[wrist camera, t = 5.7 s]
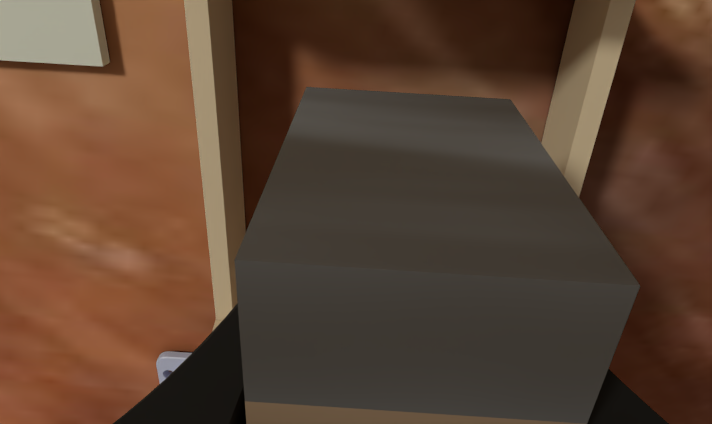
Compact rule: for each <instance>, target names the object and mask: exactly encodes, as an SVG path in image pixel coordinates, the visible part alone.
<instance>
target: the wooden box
mask: <svg viewBox="0 0 712 424" xmlns="http://www.w3.org/2000/svg"><path fill="white" fill-rule="evenodd" d="M635 1H636V0H575V2H574V7H573V11H572V15H571V19H570V24H569V28H568V32H567V36H566V41H565V45H564V49H563V53H562V58H561V62H560V66H559V70H558V75H557V79H556V83H555V87H554V92H553V96H552V100H551V104H550V109H549V113H548V117H547V121H546V126H545V130H544V134H543V138H542V143H541V144H542V145H543V147H544V148H545V150H546V151H547V153H548V154H549V156H550V157H551V158H552V160H553V161H554V163H555V164H556V166H557V167H558V168H559V170H560V171H561V173H562V174H563V176H564V177H565V178H566V180H567V181H568V183H569V184H570V186H571V187H572V189H573V190H574V191H575V193H576V194H577V196H578V197H579V196H580V192H581V189H582V185H583V182H584V178H585V175H586V171H587V168H588V164H589V161H590V157H591V154H592V150H593V147H594V143H595V140H596V136H597V133H598V129H599V126H600V123H601V119H602V116H603V112H604V109H605V105H606V102H607V98H608V95H609V91H610V88H611V84H612V81H613V77H614V74H615V70H616V67H617V63H618V60H619V56H620V53H621V49H622V46H623V42H624V39H625V36H626V32H627V29H628V25H629V22H630V18H631V15H632V11H633V8H634V4H635ZM184 6H185V16H186V26H187V36H188V46H189V55H190V65H191V75H192V85H193V95H194V105H195V115H196V125H197V135H198V145H199V155H200V164H201V174H202V184H203V194H204V204H205V214H206V224H207V234H208V244H209V254H210V264H211V273H212V283H213V293H214V303H215V313H216V321H215V324H214V328H213V331H214V329H215V328H216V327H217V326H218V325H219V324H220V323H221V322H222V321H223V319H224V318H225V317H226V316H227V315H228V314H229V313H230V311H231V310H232V309H233V308H234V307H235V305H236V304H237V303H238V302H237V289H236V275H235V261H234V260H235V257H236V255H237V253H238V250H239V248H240V245H241V243H242V241H243V238H244V236H245V233H246V226H245V209H244V192H243V175H242V159H241V142H240V125H239V108H238V91H237V75H236V58H235V41H234V24H233V7H232V0H184ZM213 331H212V332H213Z"/></svg>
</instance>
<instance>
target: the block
mask: <svg viewBox="0 0 712 424" xmlns="http://www.w3.org/2000/svg"><path fill="white" fill-rule="evenodd" d="M234 261H235V275H236V289H237V302H238V316H239V330H240V343H241V357H242V370H243V384H244V398H245V411H246V424H587V423H588V420H589V418H590V415H591V413H592V410H593V407H594V405H595V402H596V400H597V397H598V394H599V392H600V389H601V387H602V384H603V381H604V379H605V376H606V374H607V371H608V368H609V366H610V363H611V361H612V358H613V355H614V353H615V350H616V348H617V345H618V342H619V340H620V337H621V335H622V332H623V329H624V327H625V324H626V322H627V319H628V316H629V314H630V311H631V309H632V306H633V303H634V301H635V298H636V296H637V293H638V290H639V288H640V285H639V283H638V282H637V280H636V279H635V277H634V276H633V275H632V273H631V272H630V270H629V269H628V267H627V266H626V265H625V263H624V262H623V260H622V259H621V257H620V256H619V254H618V253H617V252H616V250H615V249H614V247H613V246H612V244H611V243H610V242H609V240H608V239H607V237H606V236H605V234H604V233H603V232H602V230H601V229H600V227H599V226H598V224H597V223H596V222H595V220H594V219H593V217H592V216H591V214H590V213H589V211H588V210H587V209H586V207H585V206H584V204H583V203H582V201H581V200H580V199H579V197H578V196H577V194H576V193H575V191H574V190H573V189H572V187H571V186H570V184H569V183H568V181H567V180H566V178H565V177H564V176H563V174H562V173H561V171H560V170H559V168H558V167H557V166H556V164H555V163H554V161H553V160H552V158H551V157H550V156H549V154H548V153H547V151H546V150H545V148H544V147H543V145H542V144H541V143H540V141H539V140H538V138H537V137H536V135H535V134H534V133H533V131H532V130H531V128H530V127H529V125H528V124H527V123H526V121H525V120H524V118H523V117H522V115H521V114H520V113H519V111H518V110H517V108H516V107H515V105H514V104H513V102H512V101H511V100H510V99H495V98H479V97H462V96H446V95H429V94H413V93H396V92H380V91H363V90H347V89H330V88H314V87H306V89H305V92H304V94H303V97H302V99H301V101H300V104H299V106H298V109H297V111H296V113H295V116H294V118H293V121H292V123H291V125H290V128H289V130H288V133H287V135H286V137H285V140H284V142H283V145H282V147H281V149H280V152H279V154H278V157H277V159H276V161H275V164H274V166H273V169H272V171H271V173H270V176H269V178H268V181H267V183H266V185H265V188H264V190H263V193H262V195H261V197H260V200H259V202H258V205H257V207H256V209H255V212H254V214H253V217H252V219H251V221H250V224H249V226H248V229H247V231H246V233H245V236H244V238H243V241H242V243H241V245H240V248H239V250H238V253H237V255H236V257H235V260H234Z"/></svg>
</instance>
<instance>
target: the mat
mask: <svg viewBox="0 0 712 424" xmlns="http://www.w3.org/2000/svg"><path fill="white" fill-rule="evenodd" d="M0 60H3V61H20V62H36V63H53V64H69V65H86V66H102V67H103V66H105V65H107V64H108V63H110V59H109V53H108V48H107V42H106V36H105V30H104V25H103V19H102V13H101V7H100V2H99V0H0Z"/></svg>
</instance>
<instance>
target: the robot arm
mask: <svg viewBox="0 0 712 424" xmlns="http://www.w3.org/2000/svg"><path fill="white" fill-rule="evenodd" d="M156 366H157V371H158V377H159V382H160V384H159V385H158V386H157V387H156V388H155V389H154V390H153V391H152V392H151V393H149V394H148V395H147V396H146V397H145V398H144V399H142V400H141V401H140V402H139V403H138V404H136V405H135V406H134V407H133V408H132V409H130V410H129V411H128V412H127V413H126V414H124V415H123V416H122V417H121V418H119V419H118V420H117V421H116V422H114V423H113V424H246V411H245V398H244V384H243V370H242V357H241V343H240V330H239V316H238V303H237V304H236V305H235V307H234V308H233V309H232V310H231V311H230V313H229V314H228V315H227V316H226V317H225V318H224V319H223V321H222V322H221V323H220V324H219V325H218V326H217V327H216V328H215V329H214V331H213V332H212V333H211V334H210V335H209V336H208V337H207V338H206V339H205V340H204V341H203V343H202V344H201V345H200V346H199V347H198V348H197V349H196V350H195V351H194V352H193V353H187V352H171V351H167V352H163V353H161V354H160V356H159V357H158V359H157V362H156ZM168 370H170V371H172V372H170V371H168ZM587 424H668V423H667V422H666V421H665V420H664V419H663V418H661V417H660V416H659V415H658V414H657V413H656V412H654V411H653V410H652V409H651V408H650V407H649V406H648V405H647V404H646V403H645V402H643V401H642V400H641V399H640V398H639V397H638V396H637V395H636V394H635V393H634V392H632V391H631V390H630V389H629V388H628V387H627V386H626V385H625V384H624V383H623V382H622V381H621V380H620V379H619V378H617V377H616V376H615V375H614V374H613V373H612V372H611V371H610V370H609V369H608V371H607V374H606V376H605V379H604V381H603V384H602V387H601V389H600V392H599V394H598V397H597V400H596V402H595V405H594V407H593V410H592V413H591V415H590V418H589V420H588V423H587Z"/></svg>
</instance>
